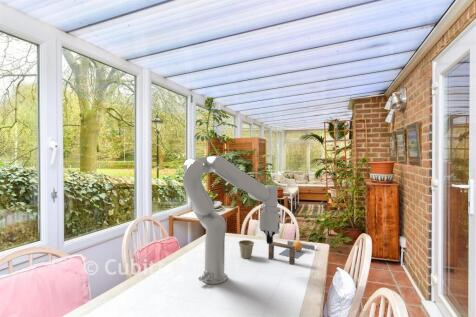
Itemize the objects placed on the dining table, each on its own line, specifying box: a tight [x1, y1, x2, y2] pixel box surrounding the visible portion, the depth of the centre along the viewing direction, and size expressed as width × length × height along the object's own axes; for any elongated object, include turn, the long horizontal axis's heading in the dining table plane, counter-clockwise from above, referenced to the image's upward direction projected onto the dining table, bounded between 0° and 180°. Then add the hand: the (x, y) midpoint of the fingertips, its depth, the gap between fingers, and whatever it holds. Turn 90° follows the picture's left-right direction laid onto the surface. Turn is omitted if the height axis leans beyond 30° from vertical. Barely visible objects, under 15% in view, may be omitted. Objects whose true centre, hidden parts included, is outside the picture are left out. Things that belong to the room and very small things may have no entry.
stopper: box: [286, 240, 316, 251], centre depth 186 cm, size 2×18×2 cm, turn 56°
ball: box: [293, 240, 303, 252], centre depth 179 cm, size 6×6×6 cm
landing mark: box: [278, 248, 305, 259], centre depth 174 cm, size 12×12×1 cm
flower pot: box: [238, 239, 255, 260], centre depth 167 cm, size 9×9×9 cm
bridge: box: [267, 241, 296, 265], centre depth 161 cm, size 3×15×10 cm, turn 56°
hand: (269, 243), depth 149 cm, fingers closed
